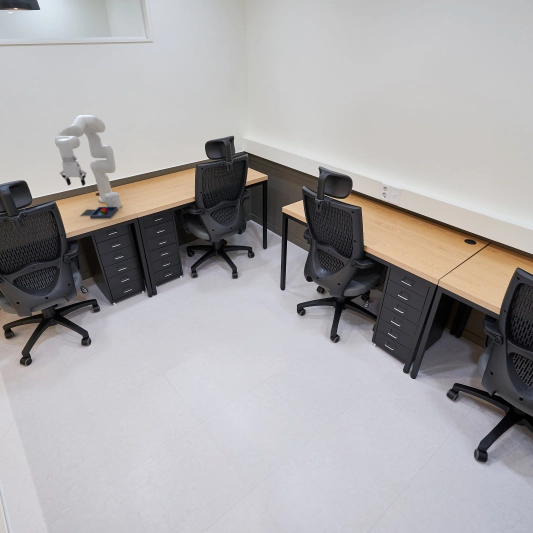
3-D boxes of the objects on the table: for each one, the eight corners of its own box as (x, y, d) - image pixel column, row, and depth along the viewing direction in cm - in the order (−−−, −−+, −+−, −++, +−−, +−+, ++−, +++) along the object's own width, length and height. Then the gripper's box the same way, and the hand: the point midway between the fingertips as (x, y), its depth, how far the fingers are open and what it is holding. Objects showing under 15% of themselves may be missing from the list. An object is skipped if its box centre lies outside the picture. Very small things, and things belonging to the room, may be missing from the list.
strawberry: (104, 211, 265) (102, 206, 263) (109, 211, 265) (108, 206, 263) (99, 215, 259) (98, 210, 256) (105, 216, 259) (103, 210, 256)
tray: (99, 210, 268) (98, 206, 267) (118, 210, 268) (117, 207, 267) (90, 218, 256) (89, 215, 254) (110, 218, 255) (109, 215, 254)
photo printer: (120, 205, 276) (117, 190, 269) (122, 207, 273) (118, 192, 266) (107, 208, 271) (103, 193, 264) (108, 210, 268) (104, 194, 261)
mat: (87, 210, 268) (87, 209, 268) (96, 210, 268) (96, 209, 268) (80, 216, 259) (80, 215, 259) (90, 216, 259) (89, 215, 259)
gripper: (84, 157, 230) (92, 183, 239) (58, 157, 230) (66, 182, 239) (79, 161, 223) (87, 187, 233) (52, 160, 224) (61, 186, 233)
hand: (76, 184), depth 236 cm, fingers open, 9 cm apart
